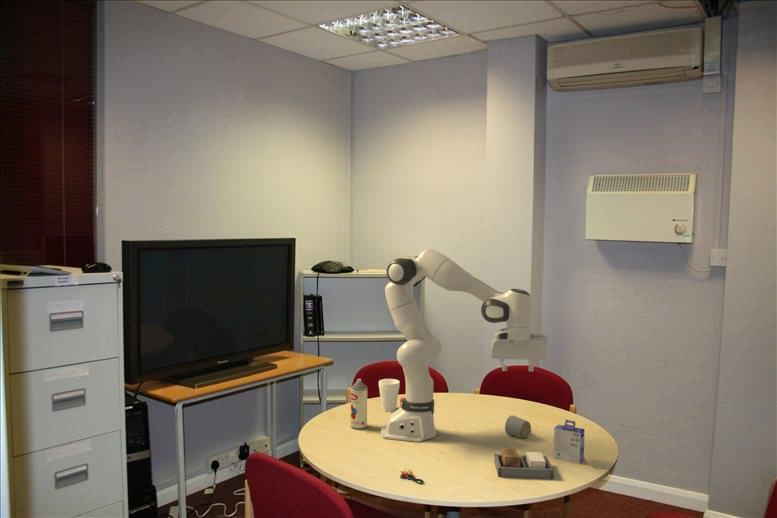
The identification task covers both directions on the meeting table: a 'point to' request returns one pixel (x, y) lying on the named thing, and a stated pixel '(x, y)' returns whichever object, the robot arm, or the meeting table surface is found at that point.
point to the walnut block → (510, 458)
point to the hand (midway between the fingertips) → (517, 371)
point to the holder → (523, 469)
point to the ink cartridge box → (568, 443)
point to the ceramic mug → (517, 427)
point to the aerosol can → (359, 405)
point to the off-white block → (535, 460)
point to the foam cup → (389, 394)
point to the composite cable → (410, 476)
